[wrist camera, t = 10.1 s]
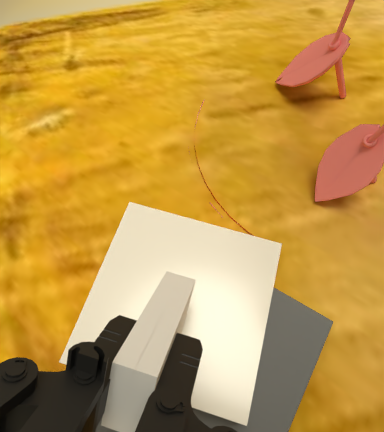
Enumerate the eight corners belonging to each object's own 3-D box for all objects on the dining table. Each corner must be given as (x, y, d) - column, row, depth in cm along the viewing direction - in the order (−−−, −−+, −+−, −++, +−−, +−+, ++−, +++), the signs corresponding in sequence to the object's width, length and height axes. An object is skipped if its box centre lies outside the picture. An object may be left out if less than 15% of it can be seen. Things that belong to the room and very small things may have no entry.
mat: (329, 323, 22) (333, 321, 22) (234, 553, 17) (235, 559, 16) (173, 233, 25) (173, 229, 24) (50, 408, 20) (46, 409, 19)
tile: (59, 362, 18) (129, 201, 22) (73, 365, 20) (134, 219, 24) (246, 426, 17) (281, 243, 21) (239, 421, 19) (272, 258, 23)
